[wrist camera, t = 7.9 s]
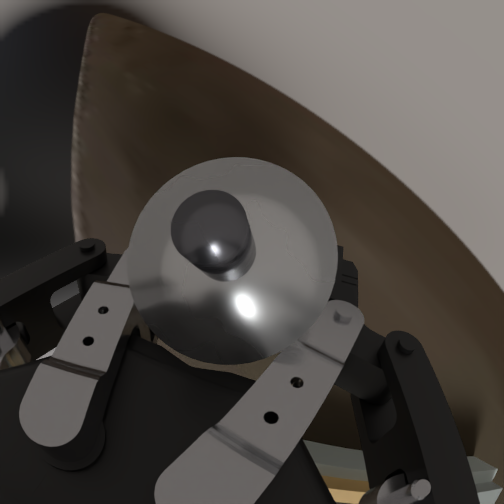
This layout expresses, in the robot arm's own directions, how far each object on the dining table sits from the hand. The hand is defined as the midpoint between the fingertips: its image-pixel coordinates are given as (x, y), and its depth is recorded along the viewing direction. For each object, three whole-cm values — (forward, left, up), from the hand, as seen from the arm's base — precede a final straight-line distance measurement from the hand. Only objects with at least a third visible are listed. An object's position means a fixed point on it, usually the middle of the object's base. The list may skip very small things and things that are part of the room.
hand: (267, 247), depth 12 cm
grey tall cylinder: (0, +2, -5) cm, 5 cm away
